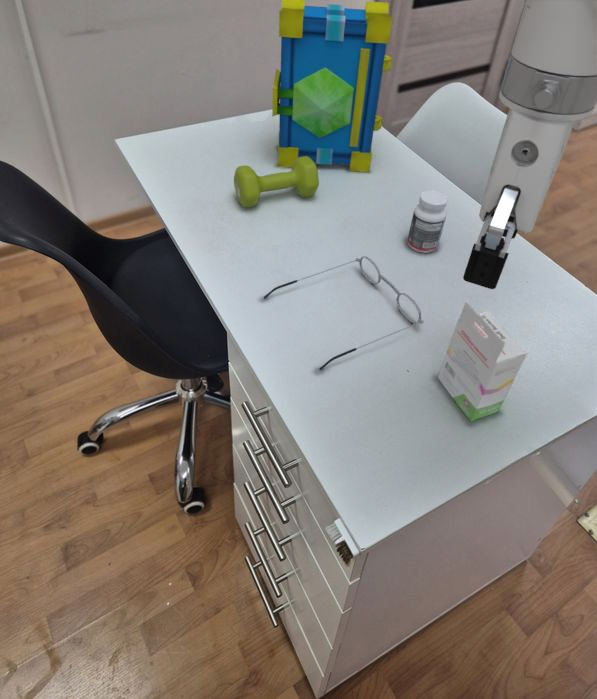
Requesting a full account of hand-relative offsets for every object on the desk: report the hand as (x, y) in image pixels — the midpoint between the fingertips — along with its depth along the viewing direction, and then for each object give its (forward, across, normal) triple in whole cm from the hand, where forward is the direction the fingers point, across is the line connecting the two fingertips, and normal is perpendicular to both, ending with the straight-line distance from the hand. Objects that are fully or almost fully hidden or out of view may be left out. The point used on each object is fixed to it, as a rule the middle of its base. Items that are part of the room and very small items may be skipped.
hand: (490, 257), depth 56 cm
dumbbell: (+25, +37, +44) cm, 63 cm away
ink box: (+26, +5, -3) cm, 26 cm away
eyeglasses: (+25, +11, +19) cm, 33 cm away
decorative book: (+25, +57, +43) cm, 75 cm away
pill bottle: (+25, +36, +13) cm, 46 cm away
